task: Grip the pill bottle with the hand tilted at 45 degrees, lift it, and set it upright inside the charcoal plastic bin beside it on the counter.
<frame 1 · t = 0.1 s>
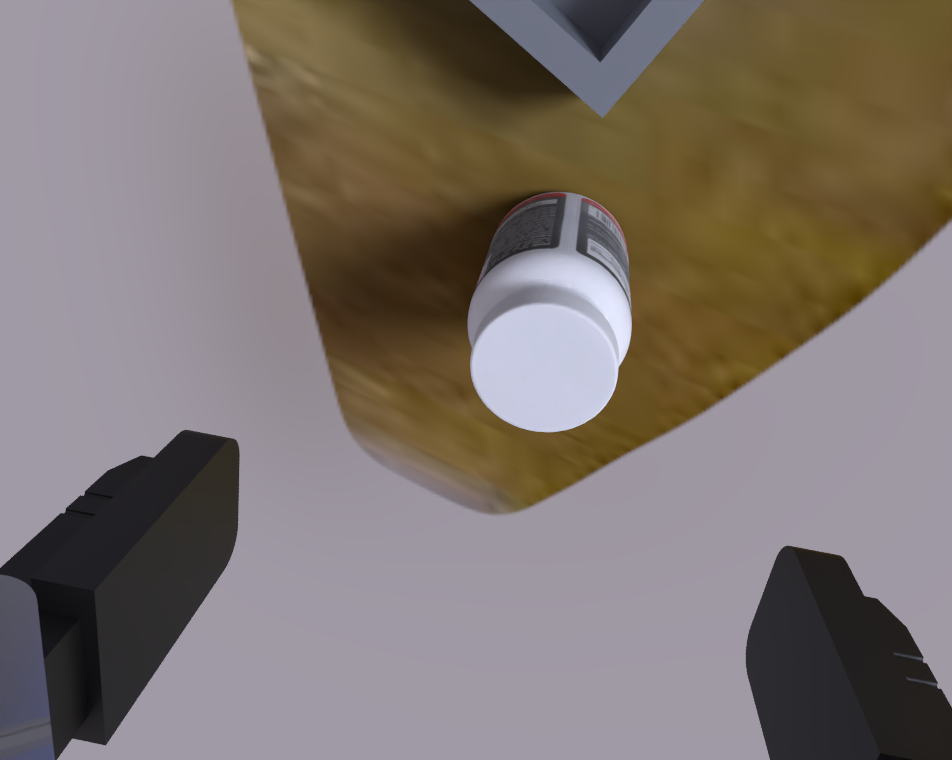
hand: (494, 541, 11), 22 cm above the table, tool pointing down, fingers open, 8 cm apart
pill bottle: (559, 252, 33), on the table
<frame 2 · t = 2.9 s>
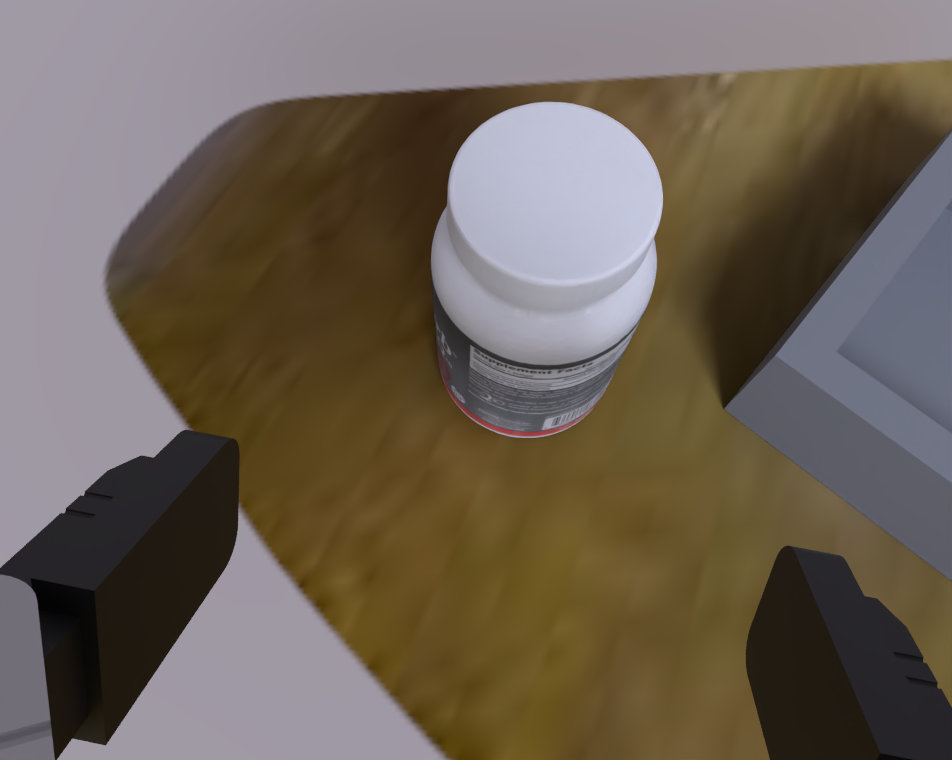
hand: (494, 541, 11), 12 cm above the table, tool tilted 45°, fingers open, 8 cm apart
pill bottle: (523, 363, 26), on the table
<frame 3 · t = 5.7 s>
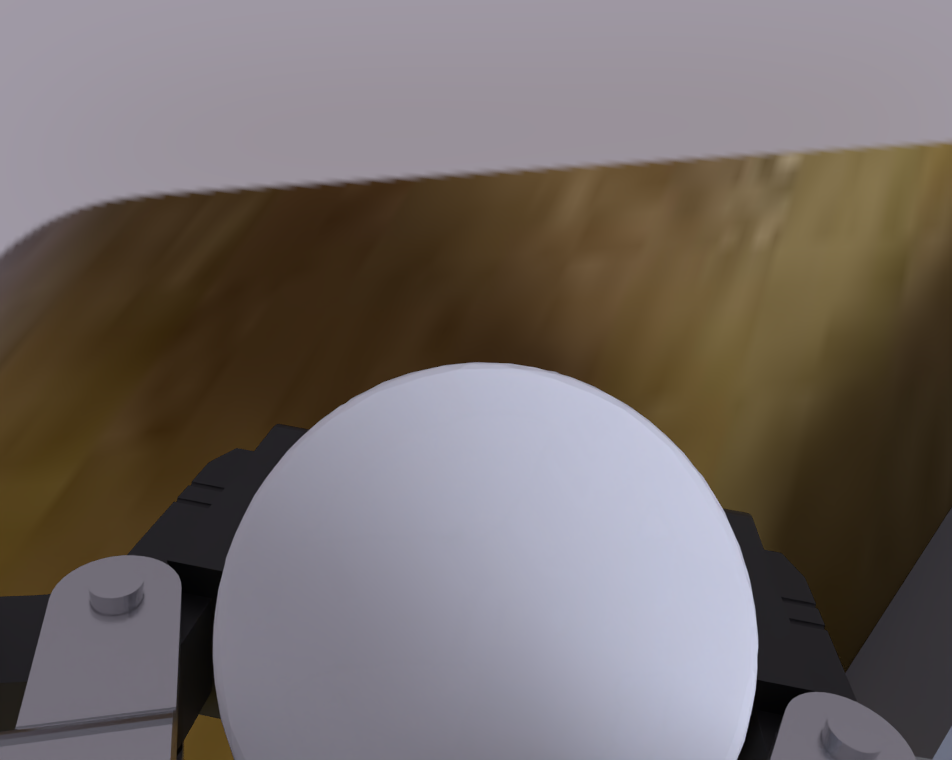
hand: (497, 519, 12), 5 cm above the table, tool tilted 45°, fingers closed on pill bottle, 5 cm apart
pill bottle: (473, 649, 16), on the table, touching gripper
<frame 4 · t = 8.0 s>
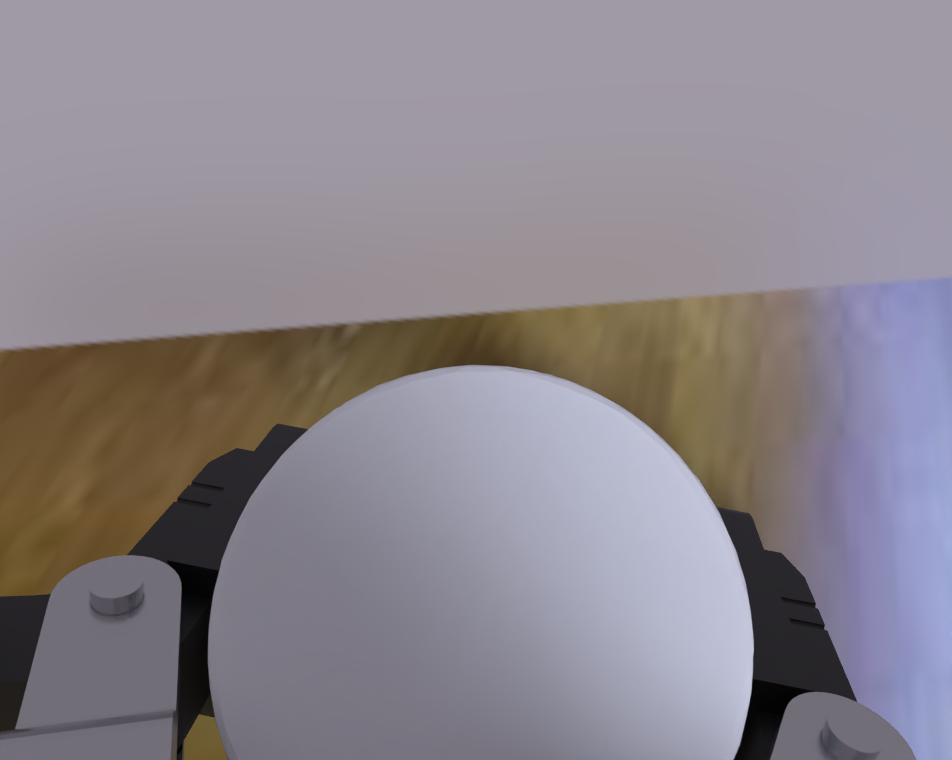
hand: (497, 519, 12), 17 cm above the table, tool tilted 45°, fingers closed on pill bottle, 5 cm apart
pill bottle: (471, 650, 16), point 12 cm above the table, touching gripper
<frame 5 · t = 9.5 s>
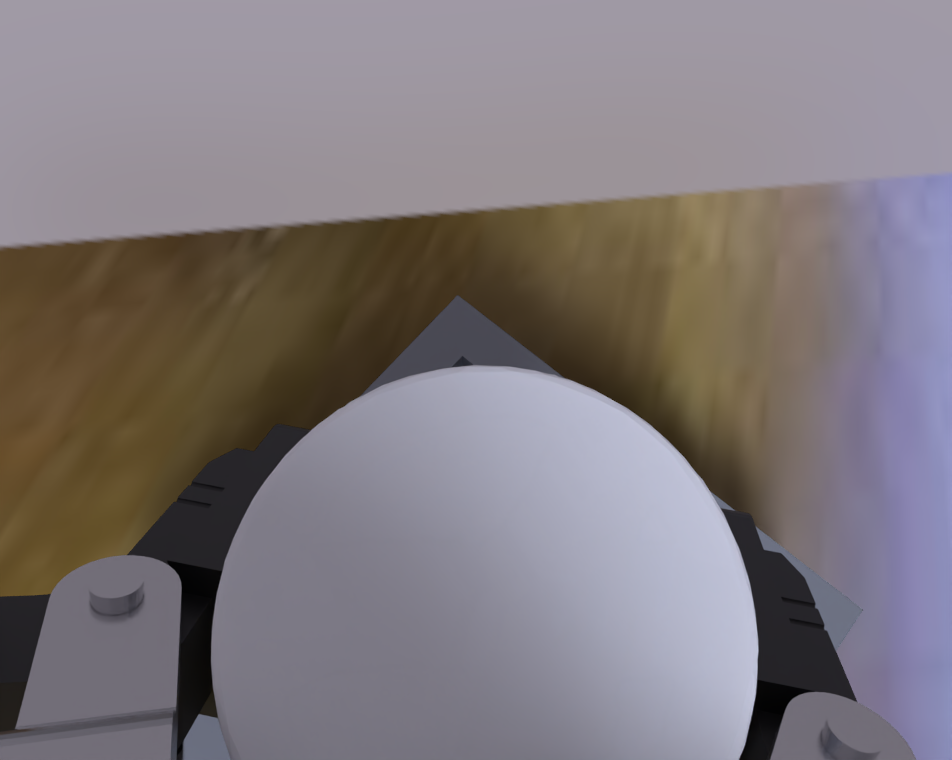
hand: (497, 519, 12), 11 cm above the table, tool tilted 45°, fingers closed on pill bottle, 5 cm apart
bin: (481, 646, 21), on the table
pill bottle: (473, 651, 16), point 6 cm above the table, touching gripper
when the fingers open (8 cm above the table, at t = 10.6 s): pill bottle drops 2 cm, resting on bin.
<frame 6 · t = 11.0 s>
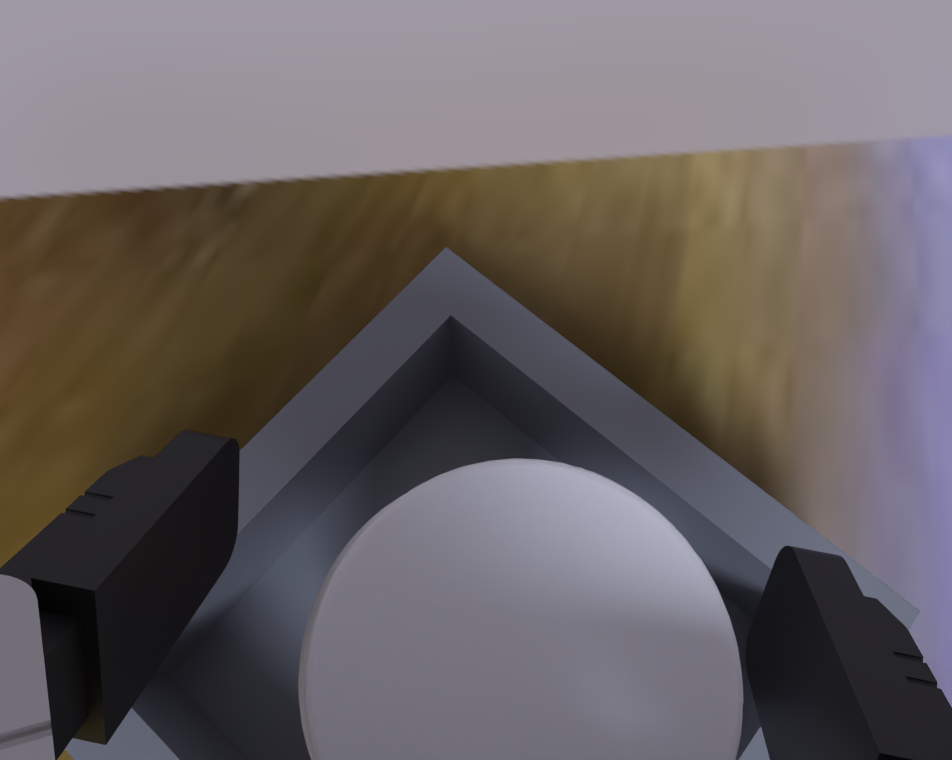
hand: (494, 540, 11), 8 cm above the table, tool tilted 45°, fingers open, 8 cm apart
bin: (471, 653, 19), on the table
pill bottle: (471, 662, 18), point 1 cm above the table, touching bin
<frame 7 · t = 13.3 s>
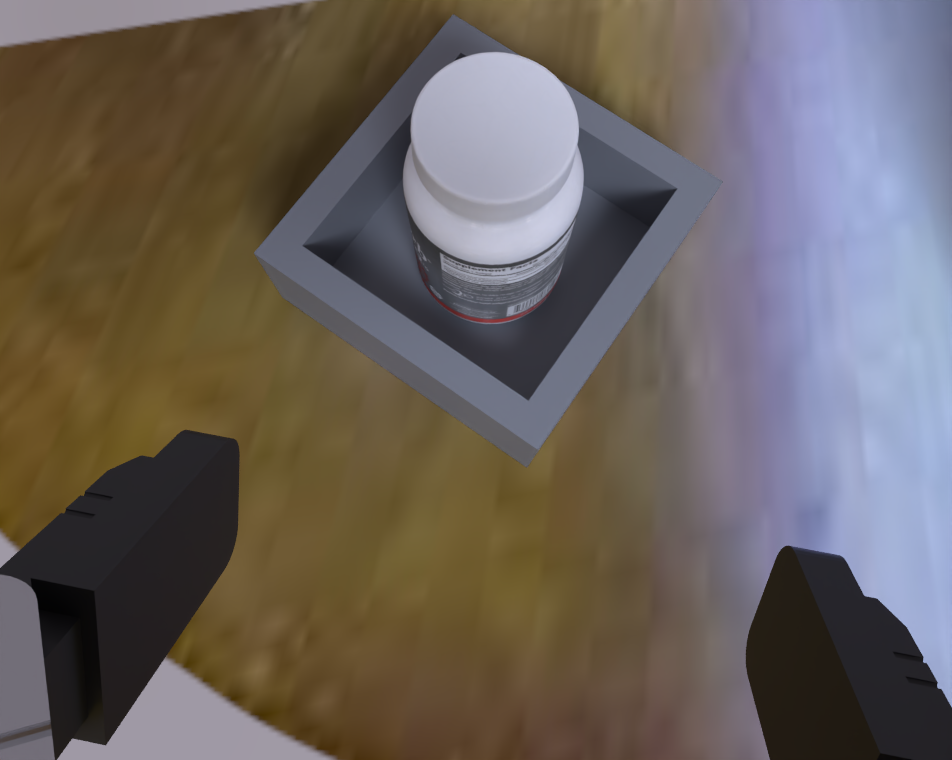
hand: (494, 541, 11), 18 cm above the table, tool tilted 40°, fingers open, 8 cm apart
bin: (488, 264, 32), on the table
pill bottle: (489, 262, 31), point 1 cm above the table, touching bin
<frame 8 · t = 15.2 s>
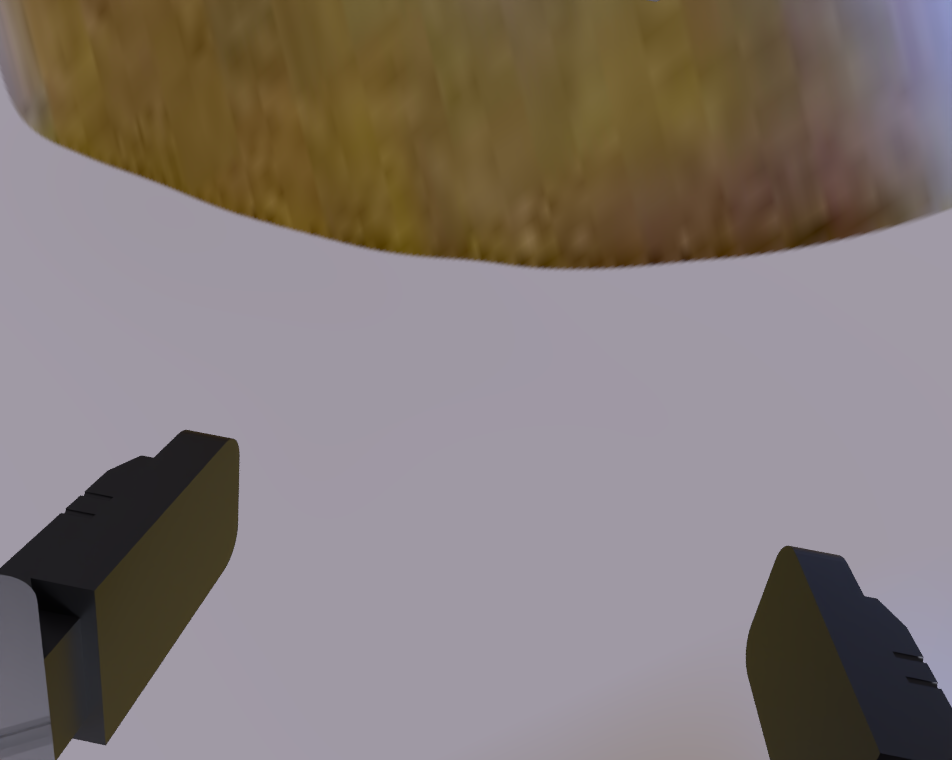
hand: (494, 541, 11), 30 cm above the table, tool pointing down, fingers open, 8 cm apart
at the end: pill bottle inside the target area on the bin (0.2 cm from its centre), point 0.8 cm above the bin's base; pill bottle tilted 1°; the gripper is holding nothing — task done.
